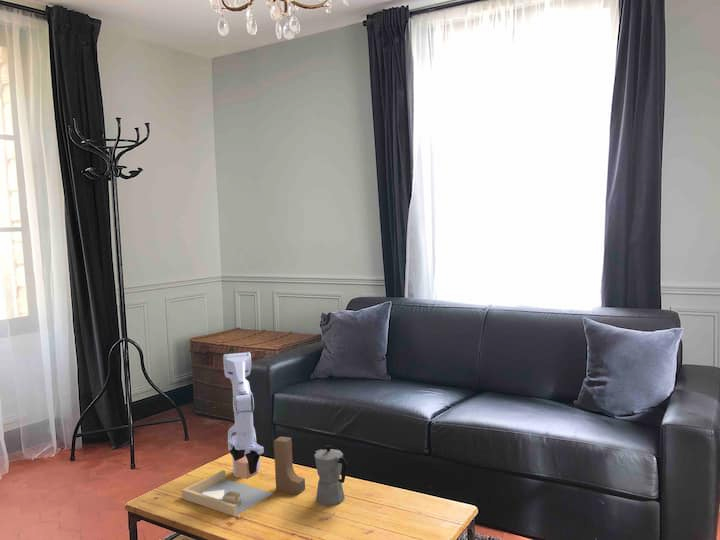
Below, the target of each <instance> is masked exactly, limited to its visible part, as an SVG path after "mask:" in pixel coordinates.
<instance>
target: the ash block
mask: <svg viewBox="0 0 720 540" xmlns="http://www.w3.org/2000/svg"><path fill="white" fill-rule="evenodd" d="M223 501H225V502H228V503H231V504H234V505H236V506H237V508H238V507H239V506H240V505H241V496H240V493H238V492H230V491H229V492H228V493H227V494H226V495H224V496H223Z"/></svg>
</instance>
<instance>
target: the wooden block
mask: <svg viewBox="0 0 720 540" xmlns="http://www.w3.org/2000/svg"><path fill="white" fill-rule="evenodd" d="M273 448H274V449H273V451H274V468H275V469H274V472H275V473H274V474H275V476H274V477H275V491H276V492H282V493H286V494H287V493H288V494H294V495H300V494H302V493H303V492H304V491H305V490H306V479H305V477H302V476H299V475H298V474H297V473H296V472H295V469H294V466H293V443H292V437H289V436H278V437H277V438H276V439H274V440H273Z"/></svg>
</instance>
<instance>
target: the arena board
mask: <svg viewBox="0 0 720 540" xmlns="http://www.w3.org/2000/svg"><path fill="white" fill-rule="evenodd" d="M217 490H224V495H226V494H227V493H228V492H229V491H230V492H238V493H240V496H241V505H240V506H239V507H238V508H237V506H236V505H234V504H231V503H228V502H225V501H223V499H222V500H219V499H216V498H213V497H210V496H207V495H204V494H203V492H208V491H217ZM274 494H275V493H273V492H270V491H267V490H262V489H260V488H258V487H254V486H250V485H247V484H244V483H241V482H237V481H233V480H229V479H227V478H226V470H223V469H222V470H220V471H219V472H216V473H214V474H211V475H210V476H208V477H206V478H204V479H201V480H198V481H197V482H195V483H193V484H191V485H188V486H186V487H184V488H183V489H181V496H182V499H183V500H185V501H189V502H191V503H195V504H197V505H200V506H203V507H206V508H209V509H211V510H214V511H218V512H219V513H220V512H221V513H224V514H226V515H229V516H232V517H235V516H237V515H239V514H241V513H243V512H244V511H246V510H248V509H249V508H252V507H253V506H254V505H256V504H259V503H260V502H262V501H264V500H265V499H267V498H269V497H271V496H272V495H274Z"/></svg>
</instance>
